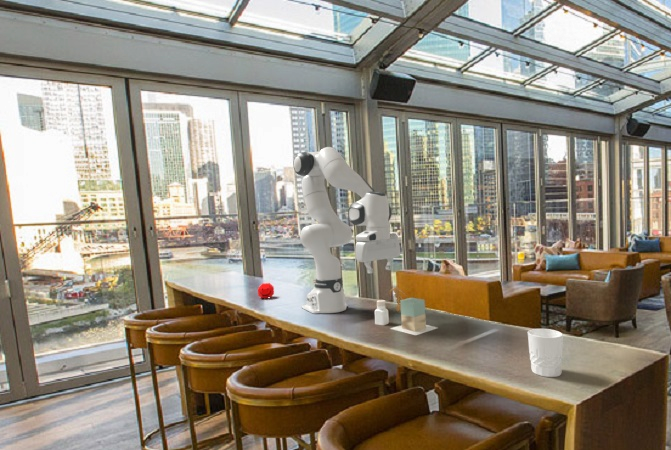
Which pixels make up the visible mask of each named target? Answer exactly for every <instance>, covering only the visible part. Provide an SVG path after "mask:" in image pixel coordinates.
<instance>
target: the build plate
mask: <svg viewBox="0 0 671 450" xmlns="http://www.w3.org/2000/svg"><path fill="white" fill-rule="evenodd" d="M389 329H390V330H393V331H396V332H397V331H398V332H402V333H406V334H409V335H413V336H418V335H422V334H424V333H428V332H430V331H434V330H436V329H438V327H437V326H432V325H428V324H426V328H424V329H421V330H418V331H415V332H414V331H410V330H406V329H402V324H400V325H397V326H393V327H390V328H389Z"/></svg>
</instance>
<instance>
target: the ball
mask: <svg viewBox="0 0 671 450" xmlns="http://www.w3.org/2000/svg"><path fill="white" fill-rule="evenodd" d="M274 289H275V288H274V285H272V284H271V283H270V282H264V283H262V284H260V285H259V287H258V288H257V295H258V296H259V297H260V298H261V299H262V298H268V297H271V298H272V297H273V295H274V294H275V290H274Z"/></svg>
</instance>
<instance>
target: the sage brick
mask: <svg viewBox="0 0 671 450" xmlns="http://www.w3.org/2000/svg"><path fill="white" fill-rule="evenodd" d="M399 303H400V304H401V312H400V315H401V314H402V315H406V316H411V317H416V316H420V315H423V314H426V301H425V299H423V298H422V299H421V298H415V297H409V298H408V297H407V298H405V299H402V300H400V299H399Z"/></svg>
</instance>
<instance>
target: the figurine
mask: <svg viewBox="0 0 671 450" xmlns="http://www.w3.org/2000/svg"><path fill="white" fill-rule="evenodd" d="M392 291H393V293H394V297H395V300H396V303H397V304H396V306H395V311H396V312H397V313H401V304H400V302H399V301H400V300H403V297H402V296H401V294H400V293H402V294H403V296H405V297H406V298H408V296H407V295H406V293H404V291H403V290H402V289H400V288H399V285H397V284H396V286H395V287H393V288H391V289H389V296H392V294H391V293H392Z"/></svg>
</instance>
